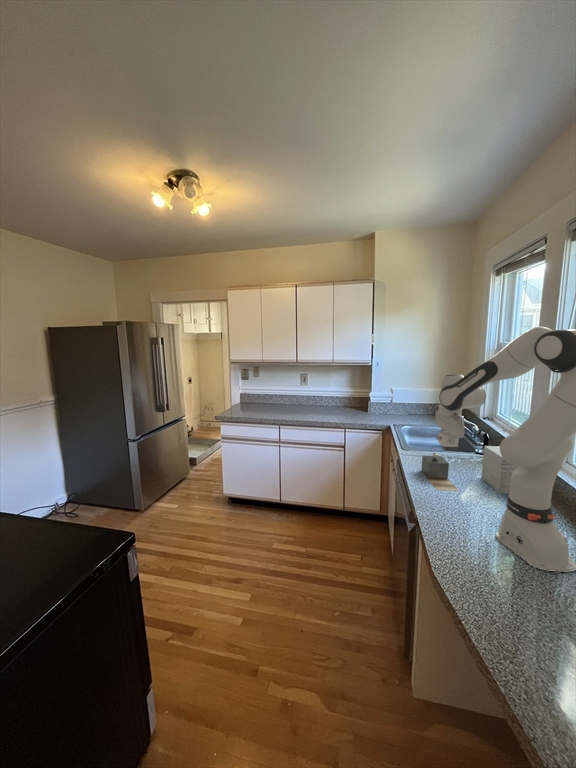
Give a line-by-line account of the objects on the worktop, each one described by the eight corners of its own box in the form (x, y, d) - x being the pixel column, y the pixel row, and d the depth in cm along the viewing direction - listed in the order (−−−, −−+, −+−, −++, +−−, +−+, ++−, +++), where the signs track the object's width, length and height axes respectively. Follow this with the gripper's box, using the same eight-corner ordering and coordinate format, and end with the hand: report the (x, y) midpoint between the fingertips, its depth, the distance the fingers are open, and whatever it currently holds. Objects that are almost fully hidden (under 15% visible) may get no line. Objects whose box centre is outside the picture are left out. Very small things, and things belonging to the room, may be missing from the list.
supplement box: (527, 494, 137) (532, 457, 134) (496, 493, 138) (500, 456, 135) (508, 480, 150) (512, 446, 147) (480, 480, 151) (483, 445, 148)
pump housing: (457, 446, 135) (458, 435, 135) (439, 446, 136) (439, 435, 135) (451, 442, 141) (452, 431, 140) (433, 441, 142) (434, 431, 141)
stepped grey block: (447, 479, 148) (449, 457, 147) (428, 478, 149) (429, 457, 147) (439, 471, 157) (441, 450, 155) (421, 470, 158) (422, 450, 156)
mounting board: (459, 493, 138) (459, 490, 138) (437, 493, 138) (437, 490, 138) (439, 473, 158) (439, 470, 158) (419, 472, 159) (420, 469, 159)
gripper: (470, 416, 126) (467, 449, 128) (447, 405, 146) (445, 433, 148) (454, 416, 126) (451, 449, 128) (433, 405, 146) (431, 433, 148)
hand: (448, 440), depth 138 cm, fingers closed on pump housing, 6 cm apart
